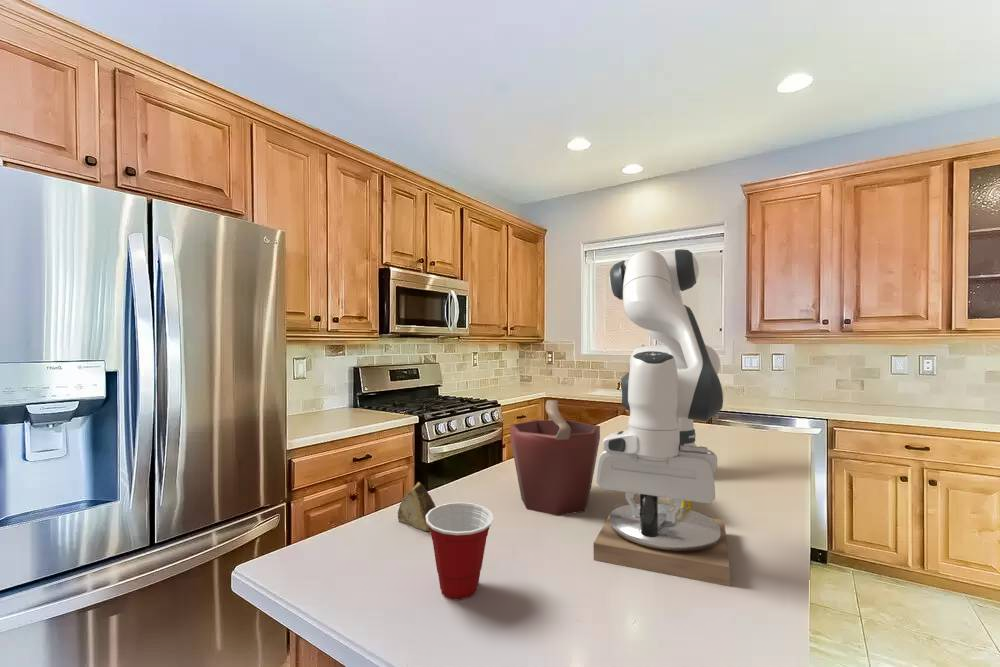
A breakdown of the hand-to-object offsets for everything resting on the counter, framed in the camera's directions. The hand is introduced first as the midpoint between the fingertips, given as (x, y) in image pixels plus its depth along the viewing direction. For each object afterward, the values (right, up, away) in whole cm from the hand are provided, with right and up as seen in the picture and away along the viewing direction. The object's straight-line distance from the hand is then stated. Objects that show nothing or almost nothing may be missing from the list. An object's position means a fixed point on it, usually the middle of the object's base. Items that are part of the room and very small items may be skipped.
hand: (653, 519), depth 82 cm
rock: (-45, -8, +17) cm, 49 cm away
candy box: (+15, -9, +25) cm, 30 cm away
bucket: (-15, -9, +31) cm, 35 cm away
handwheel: (+4, -5, +6) cm, 8 cm away
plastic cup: (-34, -7, -10) cm, 36 cm away
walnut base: (+4, -8, +6) cm, 10 cm away
